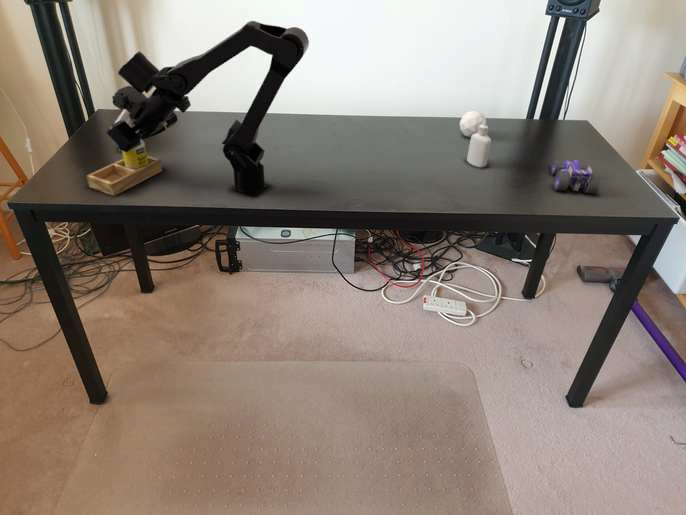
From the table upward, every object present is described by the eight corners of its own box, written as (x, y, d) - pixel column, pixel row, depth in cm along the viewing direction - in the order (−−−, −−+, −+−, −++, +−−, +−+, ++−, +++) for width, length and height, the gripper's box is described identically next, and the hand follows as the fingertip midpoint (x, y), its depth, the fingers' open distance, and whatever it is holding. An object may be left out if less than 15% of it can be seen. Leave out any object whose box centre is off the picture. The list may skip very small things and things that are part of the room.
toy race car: (581, 170, 142) (589, 148, 138) (595, 197, 130) (604, 173, 126) (545, 167, 143) (552, 144, 139) (556, 193, 131) (563, 169, 127)
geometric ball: (462, 144, 160) (450, 120, 159) (483, 132, 162) (472, 108, 160) (473, 141, 153) (461, 116, 152) (495, 128, 154) (484, 103, 153)
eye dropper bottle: (480, 159, 146) (489, 117, 139) (487, 168, 141) (496, 125, 134) (465, 159, 145) (473, 117, 138) (471, 168, 141) (480, 125, 134)
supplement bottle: (142, 176, 128) (134, 138, 122) (122, 173, 128) (113, 135, 123) (153, 166, 132) (146, 129, 126) (134, 164, 133) (125, 127, 127)
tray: (162, 170, 132) (160, 159, 130) (114, 196, 121) (111, 184, 119) (138, 163, 135) (136, 152, 133) (89, 187, 124) (86, 175, 122)
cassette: (124, 152, 140) (118, 124, 136) (117, 152, 140) (111, 124, 135) (135, 134, 150) (129, 108, 145) (128, 134, 150) (122, 108, 145)
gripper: (159, 66, 123) (129, 105, 132) (103, 89, 108) (74, 131, 118) (192, 104, 125) (160, 140, 135) (142, 132, 111) (111, 170, 120)
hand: (128, 144), depth 127 cm, fingers closed on supplement bottle, 5 cm apart
